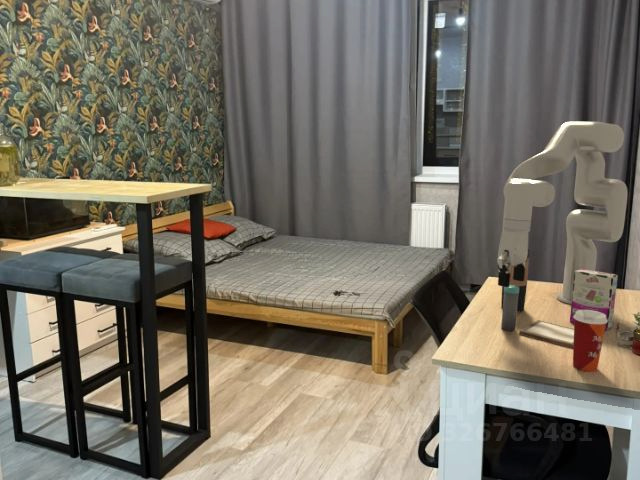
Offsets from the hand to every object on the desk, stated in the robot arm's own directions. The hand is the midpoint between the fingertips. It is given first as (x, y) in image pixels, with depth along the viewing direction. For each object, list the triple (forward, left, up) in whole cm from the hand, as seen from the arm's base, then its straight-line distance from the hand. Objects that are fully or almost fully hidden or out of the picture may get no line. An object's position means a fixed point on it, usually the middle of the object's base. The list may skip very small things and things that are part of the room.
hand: (511, 283), depth 168 cm
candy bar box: (-23, +16, -14) cm, 31 cm away
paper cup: (+11, +26, -14) cm, 32 cm away
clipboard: (-6, +12, -14) cm, 19 cm away
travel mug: (-21, -8, -14) cm, 26 cm away
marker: (-1, 0, -14) cm, 14 cm away
